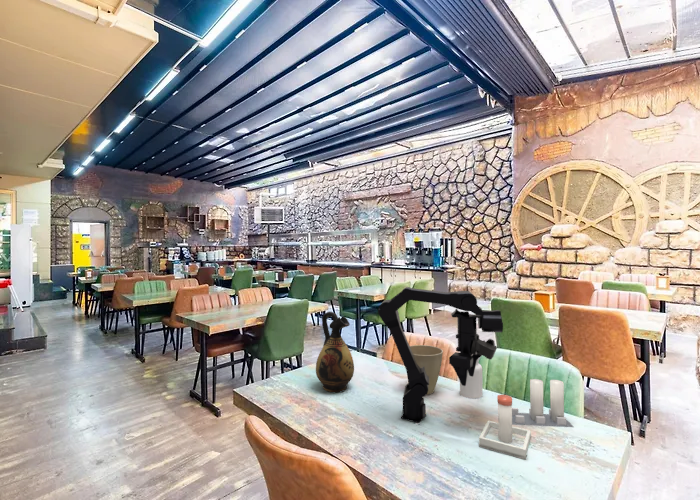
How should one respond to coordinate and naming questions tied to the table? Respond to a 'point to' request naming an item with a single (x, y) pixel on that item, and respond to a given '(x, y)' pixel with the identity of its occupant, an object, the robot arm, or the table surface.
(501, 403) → the white cylinder orange top
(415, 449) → the table surface
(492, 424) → the tray
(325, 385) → the ceramic jug
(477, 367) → the pill bottle
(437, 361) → the plant pot
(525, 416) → the fuse panel
